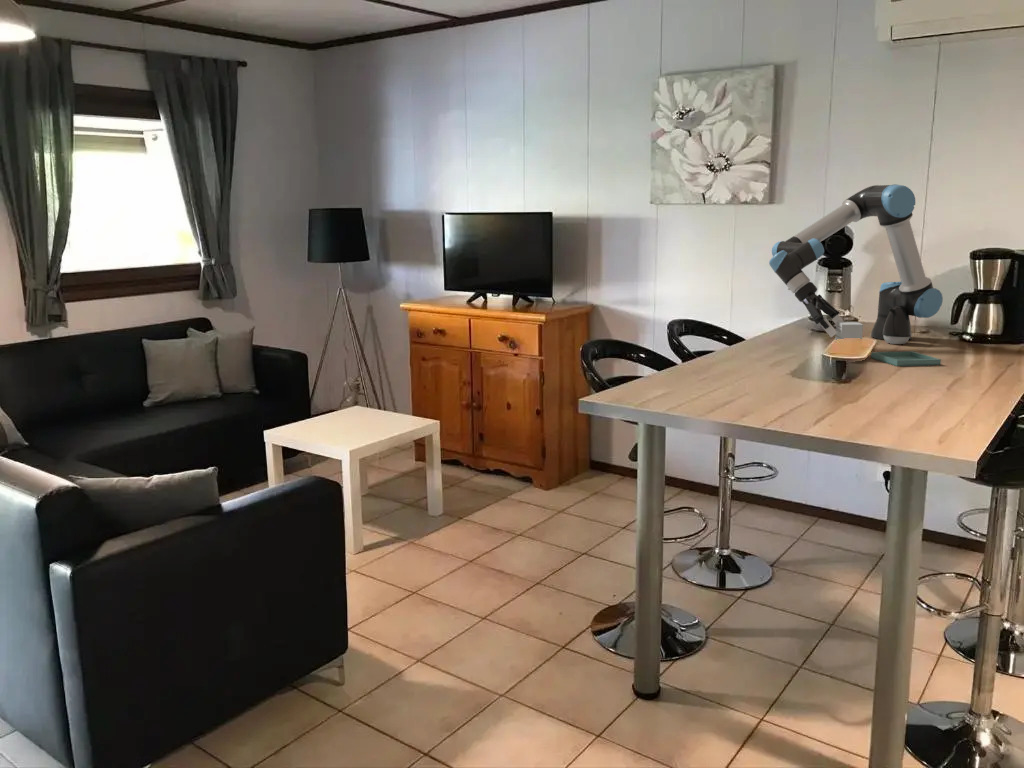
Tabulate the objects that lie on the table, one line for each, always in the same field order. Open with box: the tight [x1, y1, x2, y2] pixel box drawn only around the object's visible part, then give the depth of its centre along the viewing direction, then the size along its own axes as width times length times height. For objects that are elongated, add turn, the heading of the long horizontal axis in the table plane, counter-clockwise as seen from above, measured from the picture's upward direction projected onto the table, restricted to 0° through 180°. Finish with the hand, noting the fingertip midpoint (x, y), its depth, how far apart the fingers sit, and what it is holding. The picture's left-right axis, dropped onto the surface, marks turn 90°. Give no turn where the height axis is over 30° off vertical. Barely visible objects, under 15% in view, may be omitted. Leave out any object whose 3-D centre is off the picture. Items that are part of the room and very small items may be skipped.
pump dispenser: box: [883, 306, 912, 345], centre depth 327 cm, size 10×10×15 cm
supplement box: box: [834, 321, 864, 341], centre depth 298 cm, size 7×7×13 cm
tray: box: [870, 350, 942, 367], centre depth 291 cm, size 16×16×2 cm
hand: (840, 332), depth 298 cm, fingers open, 13 cm apart
